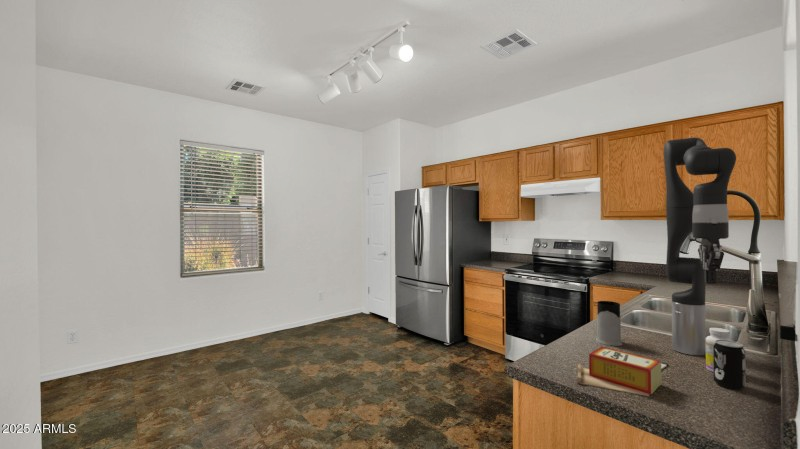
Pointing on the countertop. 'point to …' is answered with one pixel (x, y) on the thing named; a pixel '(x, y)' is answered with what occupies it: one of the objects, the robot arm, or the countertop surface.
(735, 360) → the beverage can
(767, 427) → the countertop surface
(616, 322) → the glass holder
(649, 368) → the baking soda box
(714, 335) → the supplement bottle
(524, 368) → the countertop surface
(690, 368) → the countertop surface
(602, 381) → the wooden board
